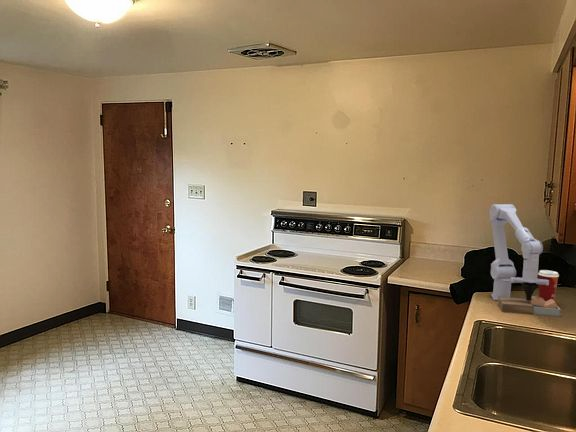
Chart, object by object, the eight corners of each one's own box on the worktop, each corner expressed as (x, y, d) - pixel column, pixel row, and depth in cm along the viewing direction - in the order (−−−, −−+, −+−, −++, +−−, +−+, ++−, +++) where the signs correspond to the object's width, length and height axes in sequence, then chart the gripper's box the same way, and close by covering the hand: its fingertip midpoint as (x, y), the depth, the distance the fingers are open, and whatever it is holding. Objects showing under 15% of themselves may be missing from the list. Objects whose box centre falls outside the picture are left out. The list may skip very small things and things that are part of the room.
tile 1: (528, 300, 212) (530, 295, 212) (541, 303, 211) (542, 298, 211) (530, 303, 208) (532, 298, 207) (543, 306, 206) (545, 301, 206)
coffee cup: (559, 307, 215) (561, 274, 213) (538, 306, 216) (541, 273, 215) (553, 302, 223) (555, 270, 221) (533, 301, 224) (535, 269, 223)
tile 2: (551, 298, 210) (554, 303, 210) (540, 303, 211) (543, 308, 211) (554, 301, 205) (558, 307, 205) (543, 307, 206) (546, 312, 206)
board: (497, 304, 219) (498, 296, 219) (527, 306, 216) (527, 298, 216) (502, 311, 208) (502, 303, 207) (533, 314, 205) (533, 306, 204)
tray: (527, 306, 216) (528, 300, 215) (553, 308, 213) (553, 302, 213) (533, 314, 205) (533, 307, 205) (560, 316, 202) (560, 309, 202)
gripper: (513, 269, 207) (511, 301, 208) (551, 272, 203) (549, 304, 204) (510, 266, 213) (508, 296, 215) (547, 268, 210) (545, 299, 211)
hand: (528, 300), depth 210 cm, fingers closed
